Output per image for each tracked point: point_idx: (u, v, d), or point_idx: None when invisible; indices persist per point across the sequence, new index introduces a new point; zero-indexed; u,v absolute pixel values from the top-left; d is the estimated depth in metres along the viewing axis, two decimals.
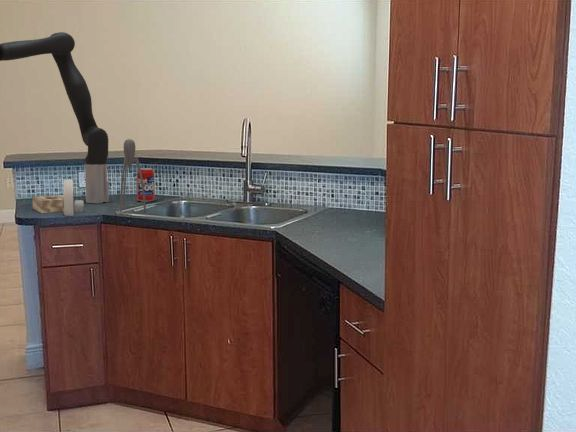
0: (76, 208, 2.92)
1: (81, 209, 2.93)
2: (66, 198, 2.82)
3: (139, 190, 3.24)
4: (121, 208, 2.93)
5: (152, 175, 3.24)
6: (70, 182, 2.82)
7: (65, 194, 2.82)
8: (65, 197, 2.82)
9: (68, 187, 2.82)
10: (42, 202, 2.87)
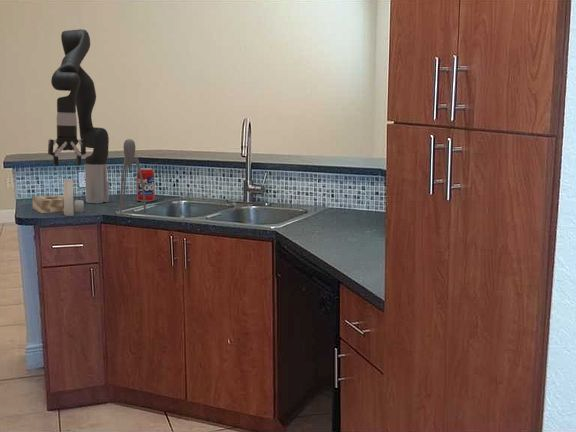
0: (76, 208, 2.92)
1: (81, 209, 2.93)
2: (66, 198, 2.82)
3: (139, 190, 3.24)
4: (121, 208, 2.93)
5: (152, 175, 3.24)
6: (70, 182, 2.82)
7: (65, 194, 2.82)
8: (65, 197, 2.82)
9: (68, 187, 2.82)
10: (42, 202, 2.87)
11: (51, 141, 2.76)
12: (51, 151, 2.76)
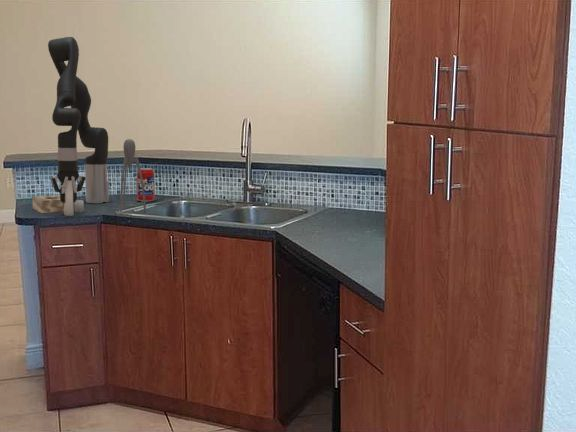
0: (76, 208, 2.92)
1: (81, 209, 2.93)
2: (66, 198, 2.82)
3: (139, 190, 3.24)
4: (121, 208, 2.93)
5: (152, 175, 3.24)
6: (70, 182, 2.82)
7: (65, 194, 2.82)
8: (65, 197, 2.82)
9: (68, 187, 2.82)
10: (42, 202, 2.87)
11: (53, 180, 2.78)
12: (58, 188, 2.80)
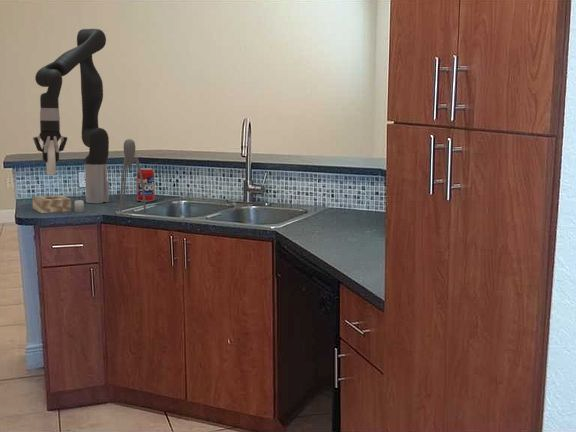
0: (76, 208, 2.92)
1: (81, 209, 2.93)
2: (48, 158, 2.91)
3: (139, 190, 3.24)
4: (121, 208, 2.93)
5: (152, 175, 3.24)
6: (52, 142, 2.90)
7: (47, 153, 2.91)
8: (47, 156, 2.91)
9: (50, 147, 2.90)
10: (42, 202, 2.87)
11: (35, 139, 2.87)
12: (40, 147, 2.88)
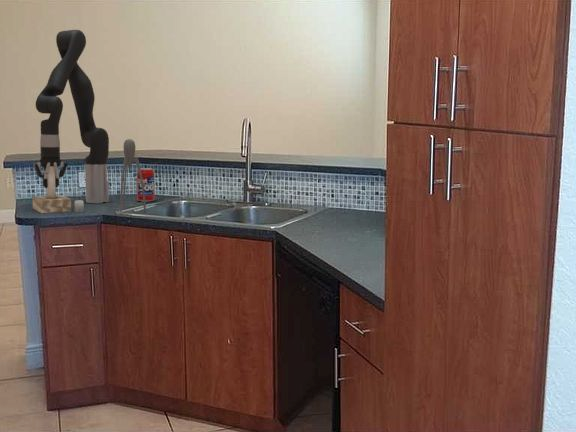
0: (76, 208, 2.92)
1: (81, 209, 2.93)
2: (48, 184, 2.93)
3: (139, 190, 3.24)
4: (121, 208, 2.93)
5: (152, 175, 3.24)
6: (52, 168, 2.92)
7: (47, 179, 2.92)
8: (47, 182, 2.93)
9: (50, 173, 2.92)
10: (42, 202, 2.87)
11: (36, 165, 2.89)
12: (40, 174, 2.90)
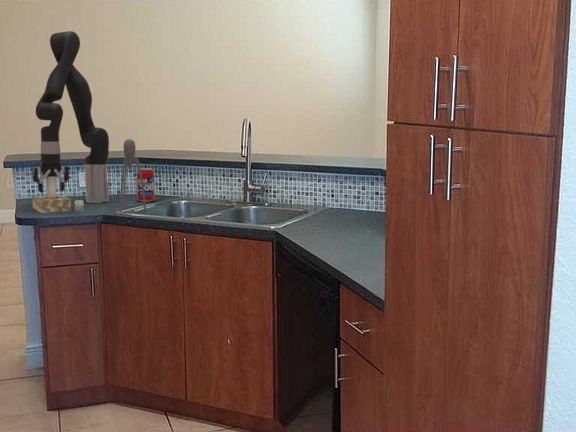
0: (76, 208, 2.92)
1: (81, 209, 2.93)
2: (48, 194, 2.93)
3: (139, 190, 3.24)
4: (121, 208, 2.93)
5: (152, 175, 3.24)
6: (53, 178, 2.93)
7: (48, 190, 2.93)
8: (48, 193, 2.93)
9: (51, 183, 2.93)
10: (42, 202, 2.87)
11: (35, 169, 2.89)
12: (36, 178, 2.89)
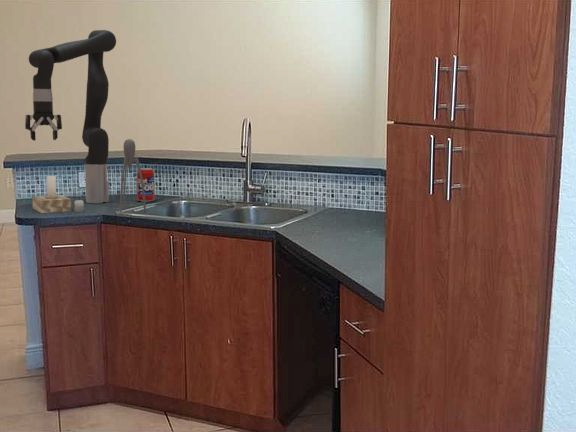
0: (76, 208, 2.92)
1: (81, 209, 2.93)
2: (49, 194, 2.93)
3: (139, 190, 3.24)
4: (121, 208, 2.93)
5: (152, 175, 3.24)
6: (53, 178, 2.93)
7: (48, 190, 2.93)
8: (48, 193, 2.93)
9: (51, 183, 2.93)
10: (42, 202, 2.87)
11: (28, 116, 2.89)
12: (28, 126, 2.89)
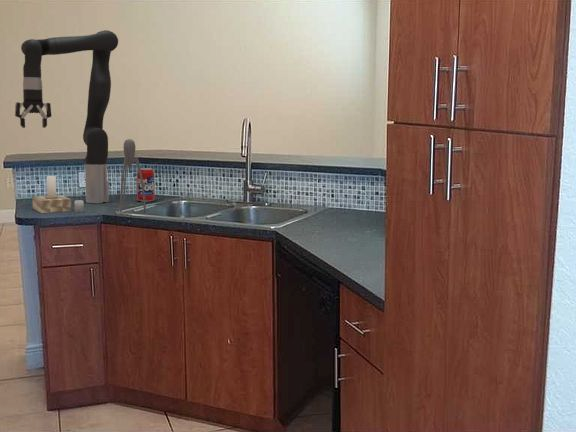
0: (76, 208, 2.92)
1: (81, 209, 2.93)
2: (49, 194, 2.93)
3: (139, 190, 3.24)
4: (121, 208, 2.93)
5: (152, 175, 3.24)
6: (53, 178, 2.93)
7: (48, 190, 2.93)
8: (48, 193, 2.93)
9: (51, 183, 2.93)
10: (42, 202, 2.87)
11: (18, 104, 2.95)
12: (18, 113, 2.96)
